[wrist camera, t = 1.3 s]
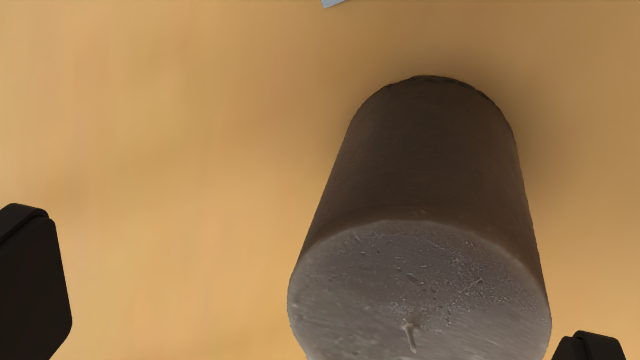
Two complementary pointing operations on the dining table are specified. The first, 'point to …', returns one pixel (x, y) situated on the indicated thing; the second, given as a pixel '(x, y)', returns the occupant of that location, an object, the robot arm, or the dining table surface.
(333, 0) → the blueprint board
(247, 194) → the dining table surface
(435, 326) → the pillar candle
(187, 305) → the dining table surface
